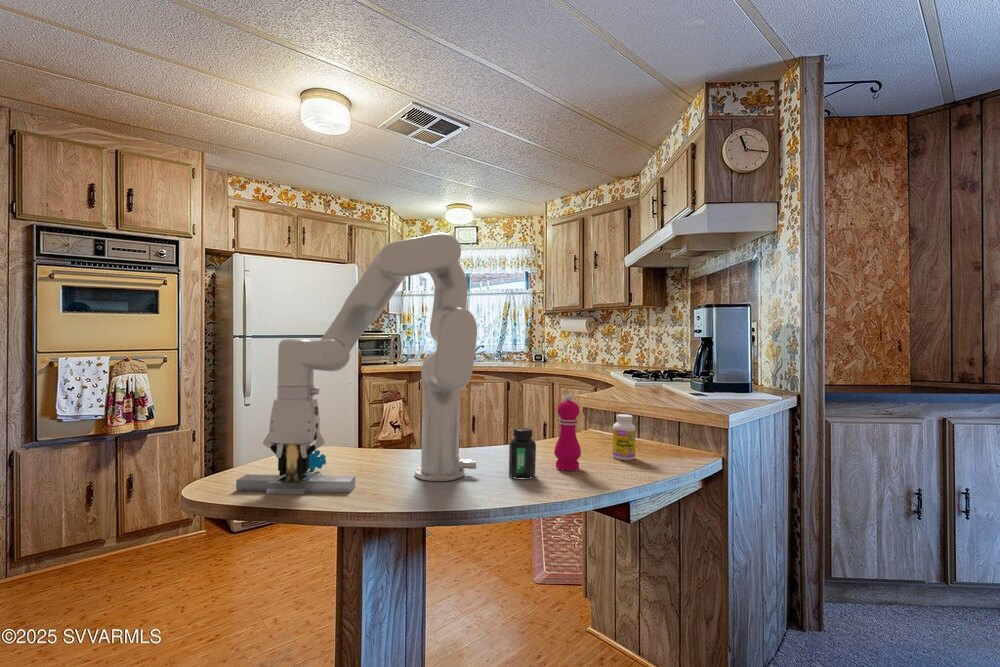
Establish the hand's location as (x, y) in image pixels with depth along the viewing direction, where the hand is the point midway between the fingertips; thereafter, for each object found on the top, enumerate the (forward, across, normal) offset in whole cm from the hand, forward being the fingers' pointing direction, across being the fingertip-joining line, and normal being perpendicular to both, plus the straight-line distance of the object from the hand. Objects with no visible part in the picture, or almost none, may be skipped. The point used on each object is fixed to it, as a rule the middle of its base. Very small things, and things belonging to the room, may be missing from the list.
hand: (293, 473), depth 106 cm
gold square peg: (+2, 0, 0) cm, 2 cm away
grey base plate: (+3, 0, 0) cm, 3 cm away
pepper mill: (+4, -66, -20) cm, 69 cm away
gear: (+4, +2, -12) cm, 12 cm away
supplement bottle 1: (+4, -53, -12) cm, 54 cm away
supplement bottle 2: (+4, -85, -32) cm, 91 cm away
